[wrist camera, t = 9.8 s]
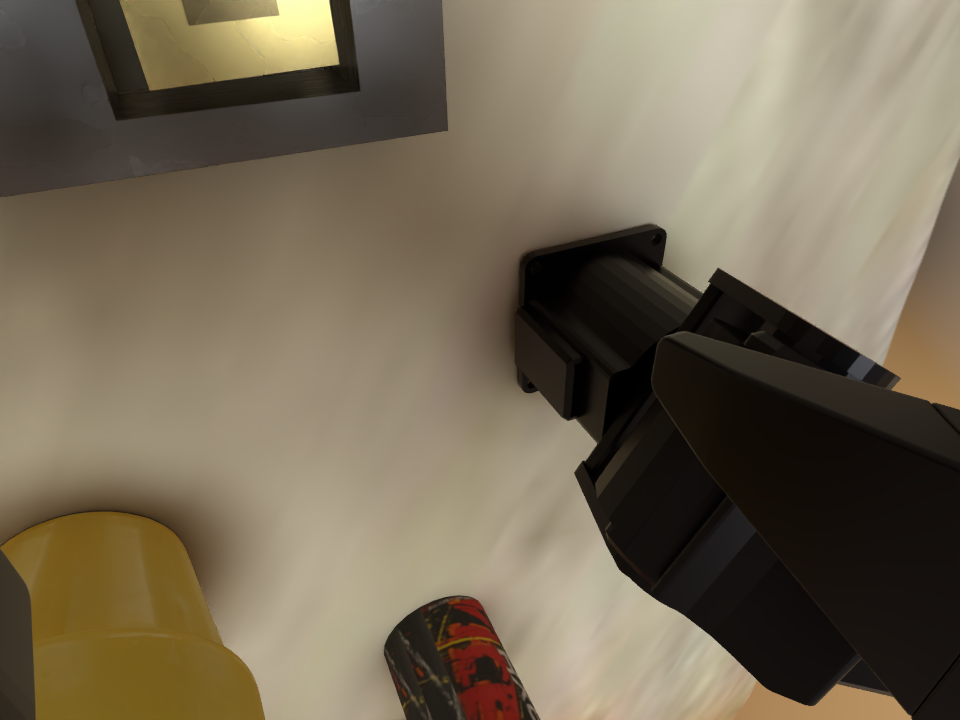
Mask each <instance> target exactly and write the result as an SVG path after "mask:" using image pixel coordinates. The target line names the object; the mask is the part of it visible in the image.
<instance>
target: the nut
mask: <svg viewBox="0 0 960 720" xmlns="http://www.w3.org/2000/svg"><path fill="white" fill-rule="evenodd" d="M119 1H120V4H121V7H122V10H123V13H124V16H125V19H126V22H127V25H128V28H129V31H130V34H131V36H132V39H133V42H134V45H135V48H136V51H137V54H138V57H139V60H140V63H141V66H142V69H143V72H144V75H145V78H146V81H147V84H148V87H149V90H150V91H152V90H160V89H167V88H174V87H181V86H188V85H195V84H202V83H210V82H217V81H224V80H231V79H238V78H245V77H252V76H259V75H267V74H274V73H281V72H288V71H295V70H302V69H309V68H317V67H324V66H331V65H338V64H339V58H338V52H337V46H336V40H335V34H334V28H333V22H332V16H331V10H330V3H329V0H119Z"/></svg>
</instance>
